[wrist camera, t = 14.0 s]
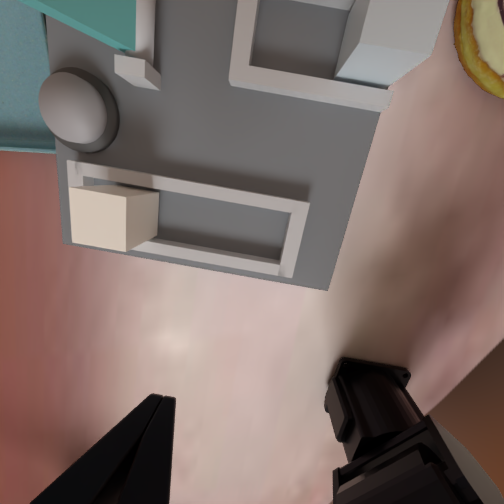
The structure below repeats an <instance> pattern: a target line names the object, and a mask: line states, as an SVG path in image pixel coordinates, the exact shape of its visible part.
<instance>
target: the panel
mask: <svg viewBox="0 0 504 504" xmlns="http://www.w3.org/2000/svg"><path fill="white" fill-rule="evenodd" d="M355 1H356V0H156V4H155V31H154V59H153V67H152V66H151V65H150V64H149V63H148V62H147V61H146V60H144V59H139V58H133V57H127V56H125V53H123V52H121V51H119V50H117V49H115V48H113V47H111V46H109V45H107V44H105V43H103V42H101V41H99V40H97V39H95V38H93V37H91V36H89V35H87V34H85V33H83V32H81V31H79V30H77V29H75V28H73V27H71V26H69V25H67V24H64V23H62V22H60V21H58V20H56V19H54V18H52V17H50V16H48V15H46V26H47V40H48V53H49V66H50V76H49V77H47V78H46V79H45V81H44V82H43V84H42V85H41V88H40V91H39V98H38V100H39V109H40V112H41V115H42V117H43V120H44V121H45V123H46V125H47V126H48V128H49V130H50V131H51V133H52V134H53V135H54V136H55V145H56V159H57V172H58V185H59V198H60V211H61V225H62V238H63V244H68V245H73V246H79V247H84V248H90V249H96V250H101V251H107V252H112V253H118V254H124V255H129V256H135V257H140V258H146V259H152V260H157V261H163V262H168V263H174V264H180V265H185V266H191V267H196V268H202V269H207V270H213V271H219V272H224V273H230V274H235V275H241V276H247V277H252V278H258V279H263V280H269V281H275V282H280V283H286V284H291V285H297V286H303V287H308V288H314V289H319V290H325V291H328V288H329V285H330V282H331V278H332V275H333V272H334V268H335V265H336V261H337V258H338V255H339V251H340V248H341V244H342V241H343V238H344V234H345V231H346V228H347V224H348V221H349V217H350V214H351V211H352V207H353V204H354V201H355V197H356V194H357V190H358V187H359V184H360V180H361V177H362V173H363V170H364V167H365V163H366V160H367V157H368V153H369V150H370V146H371V143H372V140H373V136H374V133H375V129H376V126H377V123H378V119H379V116H380V113H381V112H382V111H384V110H386V109H387V108H389V105H390V102H391V99H392V96H393V92H394V91H390V90H387V89H388V88H386V89H381V88H375V87H369V86H364V85H358V84H352V83H347V82H341V81H335V80H333V79H334V75H335V70H336V66H337V62H338V58H339V53H340V49H341V45H342V40H343V36H344V32H345V28H346V23H347V19H348V15H349V13H350V11H351V9H352V7H353V5H354V3H355ZM98 185H120V186H126V187H131V188H137V189H143V190H148V191H154V192H159V208H158V228H157V236H155V237H153V238H151V239H149V240H147V241H146V242H144V243H142V244H140V245H138V246H136V247H134V248H132V249H131V250H129V251H127V252H123V251H117V250H111V249H106V248H100V247H95V246H89V245H83V244H78V243H72V230H71V214H70V198H69V187H78V186H98Z"/></svg>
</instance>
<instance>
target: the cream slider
mask: <svg viewBox="0 0 504 504" xmlns="http://www.w3.org/2000/svg"><path fill="white" fill-rule="evenodd" d="M69 198H70V214H71V230H72V243H78V244H83V245H89V246H95V247H100V248H106V249H111V250H117V251H123V252H127V251H129V250H131V249H132V248H134V247H136V246H138V245H140V244H142V243H144V242H146V241H147V240H149V239H151V238H153V237H155V236H157V228H158V208H159V192H154V191H148V190H143V189H137V188H131V187H126V186H120V185H98V186H78V187H69Z"/></svg>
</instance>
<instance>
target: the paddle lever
mask: <svg viewBox="0 0 504 504" xmlns="http://www.w3.org/2000/svg"><path fill="white" fill-rule="evenodd" d="M18 1H20V2H22V3H24V4H26V5H28V6H30V7H32V8H34V9H36V10H38V11H40V12H42V13H44V14H46V15H48V16H50V17H52V18H54V19H56V20H58V21H60V22H62V23H64V24H67V25H69V26H71V27H73V28H75V29H77V30H79V31H81V32H83V33H85V34H87V35H89V36H91V37H93V38H95V39H97V40H99V41H101V42H103V43H105V44H107V45H109V46H111V47H113V48H115V49H117V50H119V51H121V52H123V53H125V56H127V57H133V58H139V59H144V60H146V61H147V62H148V63H149V64H150V65H151V66H152V67H153V59H154V31H155V4H156V0H18Z"/></svg>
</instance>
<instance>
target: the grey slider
mask: <svg viewBox="0 0 504 504" xmlns="http://www.w3.org/2000/svg"><path fill="white" fill-rule="evenodd" d="M448 3H449V0H356V1H355V3H354V5H353V7H352V9H351V11H350V13H349V15H348V19H347V23H346V28H345V32H344V36H343V40H342V45H341V49H340V53H339V58H338V62H337V66H336V70H335V75H334V79H333V80H335V81H341V82H347V83H352V84H358V85H364V86H369V87H375V88H381V89H386V88H388V87H389V86H390V85H392V84H393V83H394V82H396V81H397V80H398V79H400V78H401V77H402V76H404V75H405V74H407V73H408V72H409V71H411V70H412V69H413V68H415V67H416V66H417V65H419V64H420V63H421V62H423V61H424V60H426V59H427V58H428V57H430V56H431V54H432V51H433V48H434V45H435V42H436V39H437V36H438V33H439V30H440V27H441V24H442V21H443V18H444V15H445V12H446V9H447V6H448Z"/></svg>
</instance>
